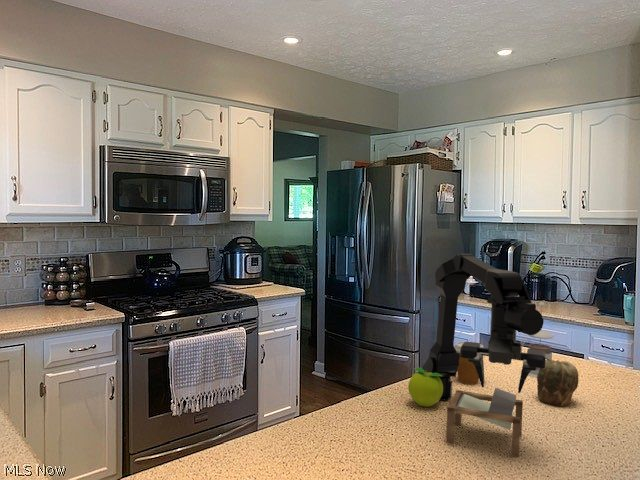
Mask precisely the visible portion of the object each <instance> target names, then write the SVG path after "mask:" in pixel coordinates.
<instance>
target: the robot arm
mask: <svg viewBox="0 0 640 480" xmlns="http://www.w3.org/2000/svg"><path fill="white" fill-rule="evenodd" d="M434 277H435V286H436V288H437V290H438V292H439V294H440V295H439V296H440V299H439V309H438V310H439V311H438V321H437V331H436V341H435V342H434V344H433V346H431V348H430V349H429V353H428V358H427V360H426V361H425V362H424V364H423V365H422V367H421V369H423V370H424V371H425V372H426V370H427V373H429V372H431V373H439V374H441V375H442V376H438V377H439V378H440V379H441V381H442V384H443V393H442V396H441V398H440V400H441V401H446V402H447V401H449V400H450V398H452V396H453V380H451V377H453V378H456V377H457V375H458V373H457V370H458V366H459V357H462V358H468V361H469V362H472V363H473V364H474V366H475V368H476V370H477V373H478V376H479V384H480V385H481V388H484V387H485V368H484V367H485V365H484V364H485V363H484V357H488V362H489V363H492V364H503V365H504V366H505V365H506V366H509V365H512V360H515V361H523V363H522V369H521V372H520V378H519V383H518V391H517V393H518V394H520V393H521V392H522V389H523V387H524V385H525V382H526V380H527V377H529V376H528V374H529V373H530V372H531V371H532V370H533V371H535V370H536V368H545V360H546V359H545V356H546V354H545V352H544V351H541V350H533V349H529V348H527V352H524V351H522V352H521V347H522V343H521V342H517V332H520V333H521V334H524V335H528V336H529V335H535V334H537V333H538V332H539V331H540V330H543V326H544V321H545V320H544V318H543V316H542V315H541V311H539V310H537V304H536V303H533V302H532V299H531V297H530V296H531V295H530V294H529V293H530V292H529V291H528V290H527V288H526V284H525V282H524V279H523V278H522V276H521V274H520V273H519V272H515V271H512V270H505V269H500V268H499V269H498V268H496V267H494V266H492V265H490V264H489V263H487V262H485V261H483V260H481V259H480V258H478V257H476V255H475V254H474V255H473V253H459V254H456V255H454V256H453V258H450V259H449V260H447V261H445V262H443V263H442V264H440V266H439V267H437V268H436V270H435V272H434ZM470 277H473V278H474V279H476V280H478V281H479V282H481V283H482V284H483V285H484V290H486V291H487V292H488V293H489V294H490V297H489V298H488V299H487V300H486V302H487V303H488V304H491V308H490V309H491V311H490V312H491V313H490V335H489V337H490V338H489V340H488V347H484V346H483V347H480V344H481V343H480V342H476V341H475V342H473V341H467V340H466V341H464V342H465V343H463V345H462V346H461V349H460V355H459V353H457V351H456V349H455V346H454V343H455V332H456V324H457V323H456V321H457V314H458V313H457V311H458V305H459V304H458V303H459V297H460V295H461V294H462V293H463V291H464V290H465V289H466V284H467V281H468V279H469V278H470ZM440 400H439V401H440Z"/></svg>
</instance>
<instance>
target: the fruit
mask: <svg viewBox="0 0 640 480" xmlns="http://www.w3.org/2000/svg"><path fill="white" fill-rule="evenodd" d="M413 370H415V371H418V372H415V373H414V374H412V376H411V377H410V379H409V380H408V381H409V382H408V393H409V395H410V396H411V398H412V399H413V400H414V401H415V403H416V404H417V405H419V407H420V406H421V407H427V408H430V407H432V406H434V405H436V404H437V403H438V402H439V401H440V398H441V396H442V393H443V384H442V381H441V379H440V378H439V377H438V376H442V375H441V374H439V373H431V372H429V373H427V370H426V372H425V371H424V370H423V369H422V367H419V366H418V367H415V368H413Z"/></svg>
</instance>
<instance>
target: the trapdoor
mask: <svg viewBox="0 0 640 480" xmlns="http://www.w3.org/2000/svg"><path fill="white" fill-rule="evenodd" d="M490 404H491V402H490V403H489V401H485V400H479V399H477V398H474V397H471V396H469V395H466V394H463V395H462V397H461V399H460V401H459V403H458V405H457V407H463V408H469V409H475V410H480V411H486V412H488V411H489V408H490ZM512 416H514V411H513V412H512ZM474 417H476V418H478V419H481V420H483V421H485V422H488V423H491V424H493V425H496V426H498V427H501V428H503V429H506V430H509V431H510V430H511V427H512V425H513V423H510V422H504V421H499V420H493V419H488V418H482V417H477V416H474Z"/></svg>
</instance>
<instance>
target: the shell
mask: <svg viewBox="0 0 640 480" xmlns="http://www.w3.org/2000/svg"><path fill="white" fill-rule="evenodd" d="M579 375H580V374H579V371H578V369H577V367H576V366H575V365H574V364H572V363H571V362H569V361H566V360H562V361H560V360H558V359H557V360H553V359H552V360H550V361H547V362H546V363H545V368H540V370H539V372H538V375H537V378H536V382H537V386H536V387H537V390H536V391H537V392H536V393H537V397H538V399H539V401H540V402H541V403H544V404H547V405H551V406H556V407H561V406H568V405H570V404H571V402H572V398H573V394H574V393H575V392H576V390H577V389H578V387H579V382H580V381H579Z"/></svg>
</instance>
